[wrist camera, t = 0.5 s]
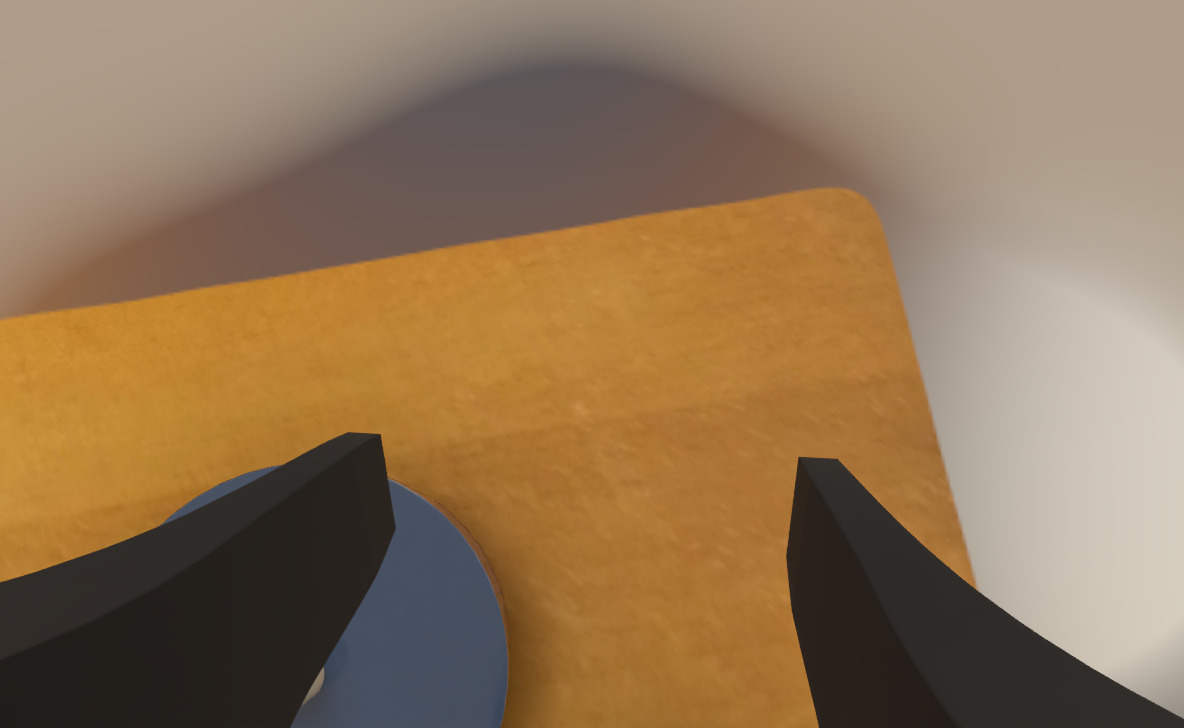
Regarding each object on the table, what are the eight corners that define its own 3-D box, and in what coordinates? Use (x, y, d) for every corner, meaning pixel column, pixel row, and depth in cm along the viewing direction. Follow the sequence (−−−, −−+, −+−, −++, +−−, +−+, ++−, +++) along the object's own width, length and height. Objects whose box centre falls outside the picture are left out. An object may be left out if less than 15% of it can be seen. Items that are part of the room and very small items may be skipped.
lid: (386, 976, 29) (353, 1059, 25) (18, 771, 30) (-74, 817, 26) (579, 571, 32) (579, 584, 28) (237, 397, 33) (186, 384, 29)
